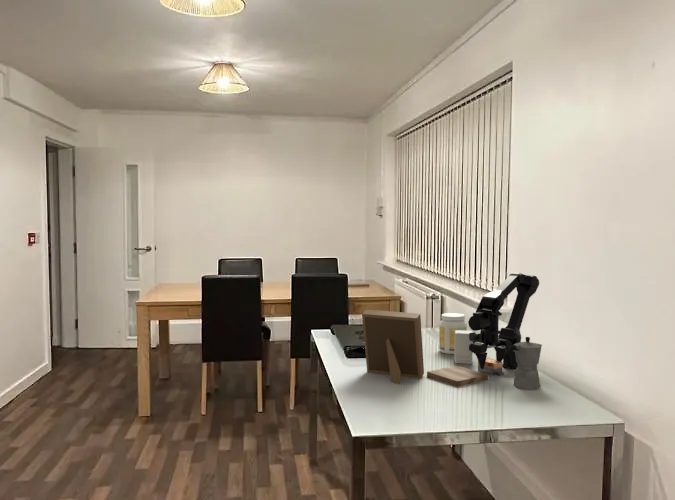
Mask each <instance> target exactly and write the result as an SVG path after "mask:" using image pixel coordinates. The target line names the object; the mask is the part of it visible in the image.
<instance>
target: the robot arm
mask: <svg viewBox="0 0 675 500" xmlns="http://www.w3.org/2000/svg"><path fill="white" fill-rule="evenodd" d="M539 285H540V279H538V277H537V276H536V275H530V274H525V273H524V274H523V273H521V272H511V273H509V275H508V277H507V278H506V279H505V280H504V281H503V282H502V283H501V284H500V285H498V287H496V289H494V290H492V291H490V292H487V293H486V294H485V295H483V296H481V299H480V302H479V303H478V306H477V307H476V310H475V312H473V313H472V316H470V317H469V319H468V320H467V321H468V322H467V324H468V326H469V328H470V329H471V331H472V333H469V340H470V341H472V342H473V343H471V344H470V345H469V351H471V352H472V354H474V355H475V356H476V359H477V363H478V362H479V365H480V368H481V369H484V366H485V361H486V358H488V357H487V356H488V352H487V351H488V349H491V348H493V349H494V350H495V360H497V361H501V362H503V364H502V368H506V369H507V368H508V369H511V370H514V369H515V370H516V368H512V365H511V362H510V358H509V354H508V349H509V348H510V346H512V345H514V344H516V343H520V342H522V341H521V340H522V333H521V326H522V324H523V320H524V317H525V313H526V311H527V307H528V305H529V301H530V298H531V297H532V296H534V294H535V293H536V292H537V290H538V288H539ZM515 289H516V292H517V295H516V299H515V300H514V304H513V308H512V310H511V314H510V316H509V319H508V323H507V325H506V326H505V327H501V328H500V329H499V317H500V316H502V312H501V311H500V310H501V309H502V307H504V304H505V300H506V298H507V297H508V296H509V295H510V294H511V293H512V292H513V291H514V290H515ZM473 331H474V332H473ZM477 331H479V333H476V332H477ZM513 358H514V361H515V362H514V364H515V365H517V367H518V363H517V362H516V356H515V350H514V351H513Z"/></svg>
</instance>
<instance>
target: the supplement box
mask: <svg viewBox="0 0 675 500" xmlns="http://www.w3.org/2000/svg"><path fill="white" fill-rule="evenodd" d="M469 333H473V330H467V331H462V330H455V351H454V354H453V358H454V363H455V364H466V365H467V364H468V365H469V364H470V365H471V364H473V353H472V352H471V351H469V345H470V344H471V343H473V342H472V341H470V340H469Z"/></svg>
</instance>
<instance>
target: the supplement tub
mask: <svg viewBox="0 0 675 500" xmlns="http://www.w3.org/2000/svg"><path fill="white" fill-rule="evenodd" d="M467 324H468V322H467V321H466V315H465V314H463V313H457V312H444V313H442V314H441V320H440V321H439V331H438V332H439V335H438V336H439V339H438V340H439V341H438V342H439V347H438V348H439V351H440V353H443V354H446V355H454V351H455V330H462V331H468V327H467V326H468V325H467Z"/></svg>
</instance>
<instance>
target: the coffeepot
mask: <svg viewBox="0 0 675 500" xmlns="http://www.w3.org/2000/svg"><path fill="white" fill-rule="evenodd" d="M542 346H543V344H540V343H536V342H531V337H529V336H526V337H525V341H521V342H520V343H516V344H514V345H512V346H510V348H509V349H508V354H509V358H510V362H511V365H512V368H515V373H514V374H515V375H514V379H513V386H514V387H515V388H516V389H520V390H525V391H535V390H539V389H540V388H541V381H540V375H539V370H538V365H539V362H540V357H541V351H542ZM514 350H515V356H516V362H517V363H518V367H517V365H515V364H514V362H515V361H514V358H513V351H514Z"/></svg>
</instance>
